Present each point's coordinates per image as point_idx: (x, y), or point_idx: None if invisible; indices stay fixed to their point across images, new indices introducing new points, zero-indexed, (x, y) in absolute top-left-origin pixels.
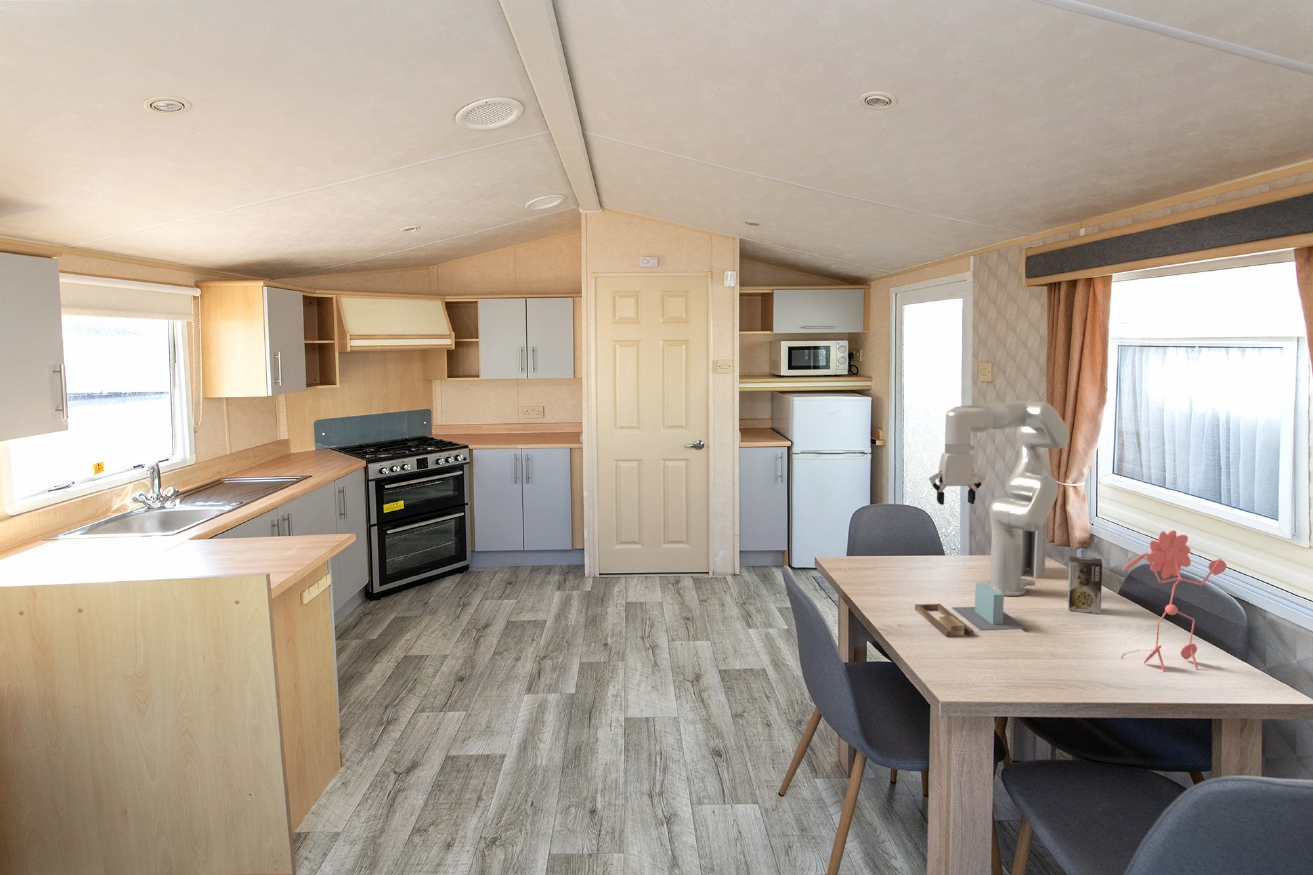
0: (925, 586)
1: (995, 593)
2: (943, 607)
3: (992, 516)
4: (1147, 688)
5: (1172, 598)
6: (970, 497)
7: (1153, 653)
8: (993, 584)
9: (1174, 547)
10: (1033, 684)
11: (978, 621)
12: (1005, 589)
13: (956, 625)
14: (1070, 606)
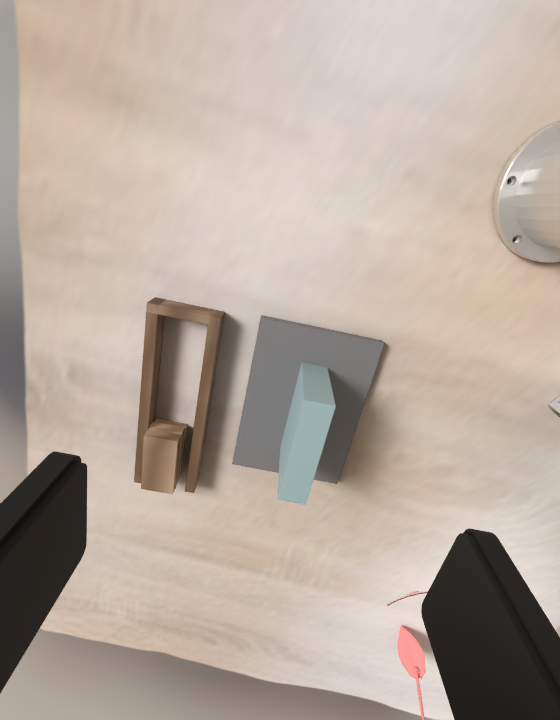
0: (334, 38)
1: (289, 492)
2: (213, 349)
3: None
4: (326, 667)
5: None
6: (462, 661)
7: (409, 657)
8: (524, 195)
9: None
10: (182, 626)
11: (260, 424)
12: (530, 236)
13: (155, 489)
14: (557, 414)
